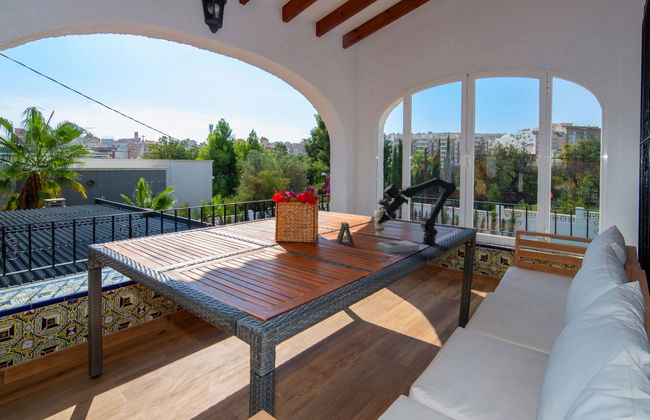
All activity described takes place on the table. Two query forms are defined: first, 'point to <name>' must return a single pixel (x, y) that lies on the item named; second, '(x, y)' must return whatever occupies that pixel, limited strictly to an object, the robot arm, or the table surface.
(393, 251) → the grey slab with hole
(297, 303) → the table surface
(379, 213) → the ash peg
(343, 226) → the grey a-shaped frame
